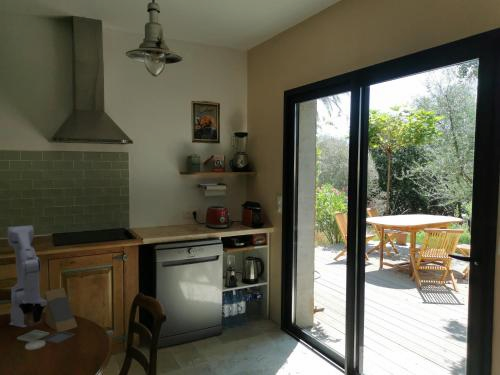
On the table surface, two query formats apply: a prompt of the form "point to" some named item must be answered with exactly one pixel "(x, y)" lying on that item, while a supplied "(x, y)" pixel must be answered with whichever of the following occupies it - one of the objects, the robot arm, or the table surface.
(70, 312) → the sandwich container
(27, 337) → the pale green square tile
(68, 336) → the grey square tile
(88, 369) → the table surface
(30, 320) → the walnut cube
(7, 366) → the table surface
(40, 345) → the coaster
